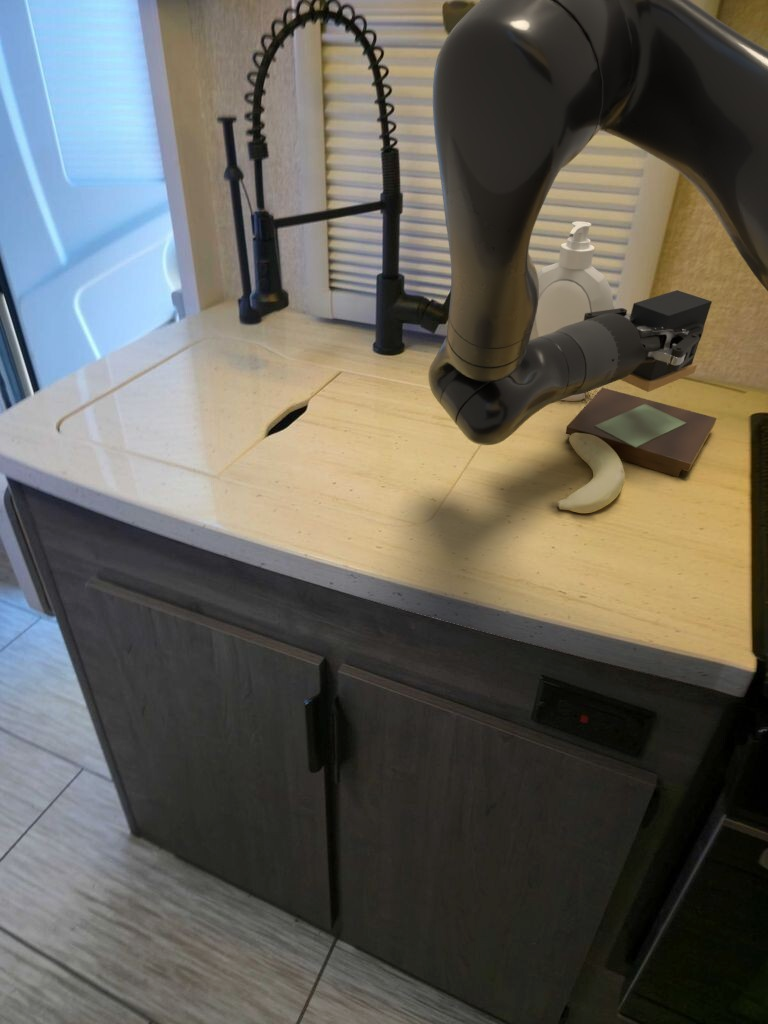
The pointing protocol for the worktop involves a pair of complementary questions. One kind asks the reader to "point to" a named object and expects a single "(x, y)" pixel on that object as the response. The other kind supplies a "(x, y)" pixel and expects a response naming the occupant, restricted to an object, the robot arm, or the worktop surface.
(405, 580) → the worktop surface
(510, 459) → the worktop surface
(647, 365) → the matte black box
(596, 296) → the soap bottle
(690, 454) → the wooden base
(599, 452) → the fruit
